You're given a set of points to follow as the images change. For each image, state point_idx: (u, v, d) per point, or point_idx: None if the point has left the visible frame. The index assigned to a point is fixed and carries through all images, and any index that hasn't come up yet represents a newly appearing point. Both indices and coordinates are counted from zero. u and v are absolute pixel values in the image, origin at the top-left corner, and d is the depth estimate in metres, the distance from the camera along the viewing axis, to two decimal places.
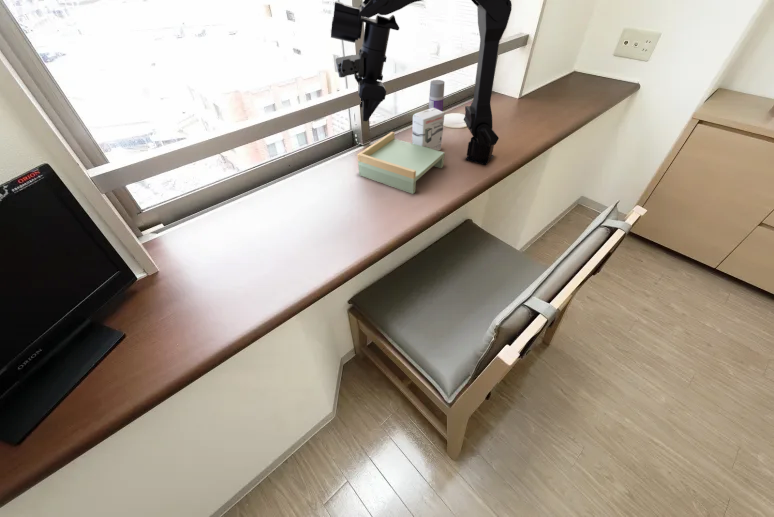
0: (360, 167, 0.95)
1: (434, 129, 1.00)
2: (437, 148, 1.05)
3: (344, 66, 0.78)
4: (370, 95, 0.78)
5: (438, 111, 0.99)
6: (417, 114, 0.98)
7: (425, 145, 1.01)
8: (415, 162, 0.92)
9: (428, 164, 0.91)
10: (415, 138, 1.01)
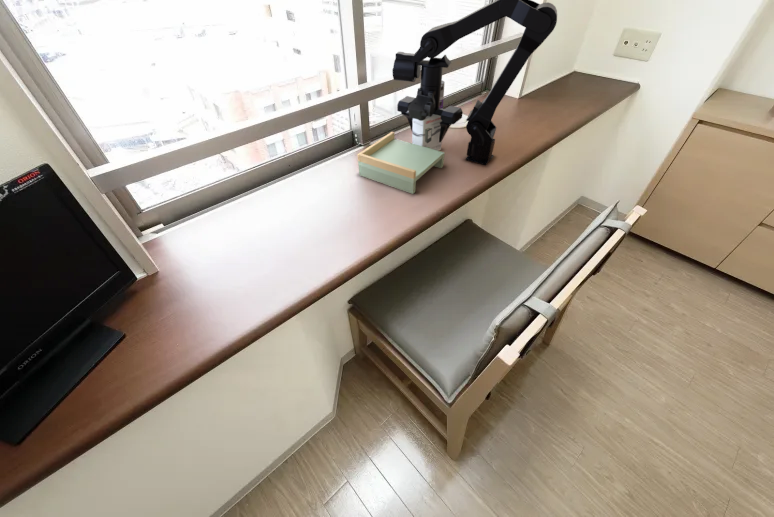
0: (360, 167, 0.95)
1: (434, 129, 1.00)
2: (437, 148, 1.05)
3: (431, 110, 0.90)
4: (457, 119, 0.94)
5: None
6: None
7: (425, 145, 1.01)
8: (415, 162, 0.92)
9: (428, 164, 0.91)
10: (415, 138, 1.01)
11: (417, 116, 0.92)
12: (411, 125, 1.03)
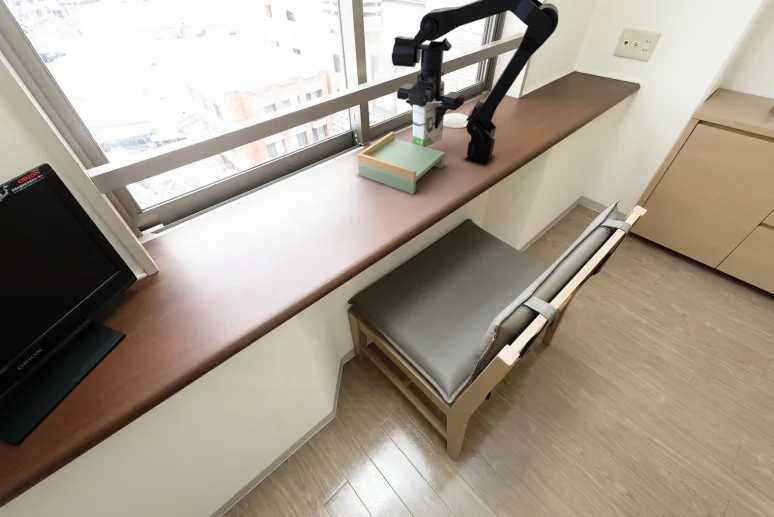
0: (360, 167, 0.95)
1: (435, 118, 0.98)
2: (438, 138, 1.03)
3: (432, 95, 0.87)
4: (458, 105, 0.91)
5: None
6: None
7: (426, 135, 0.99)
8: (415, 162, 0.92)
9: (428, 164, 0.91)
10: (416, 128, 0.99)
11: (417, 102, 0.90)
12: None
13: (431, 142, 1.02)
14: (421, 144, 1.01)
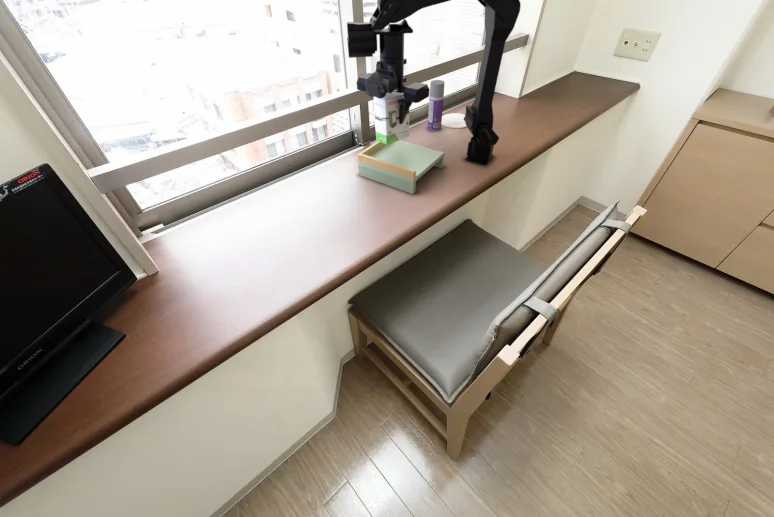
0: (360, 167, 0.95)
1: None
2: (404, 134, 0.93)
3: (390, 85, 0.77)
4: (422, 97, 0.81)
5: None
6: None
7: (390, 131, 0.89)
8: (415, 162, 0.92)
9: (428, 164, 0.91)
10: (378, 123, 0.89)
11: (375, 93, 0.80)
12: None
13: (396, 139, 0.92)
14: (384, 141, 0.91)
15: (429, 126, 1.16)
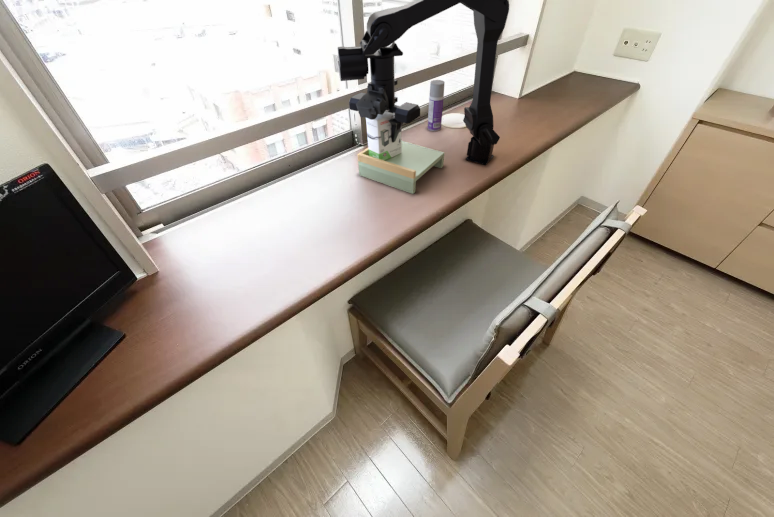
0: (360, 167, 0.95)
1: None
2: (397, 152, 0.95)
3: (381, 107, 0.79)
4: (413, 118, 0.83)
5: None
6: None
7: (382, 149, 0.90)
8: (415, 162, 0.92)
9: (428, 164, 0.91)
10: (371, 142, 0.90)
11: (367, 114, 0.81)
12: None
13: (389, 156, 0.93)
14: None
15: (429, 126, 1.16)
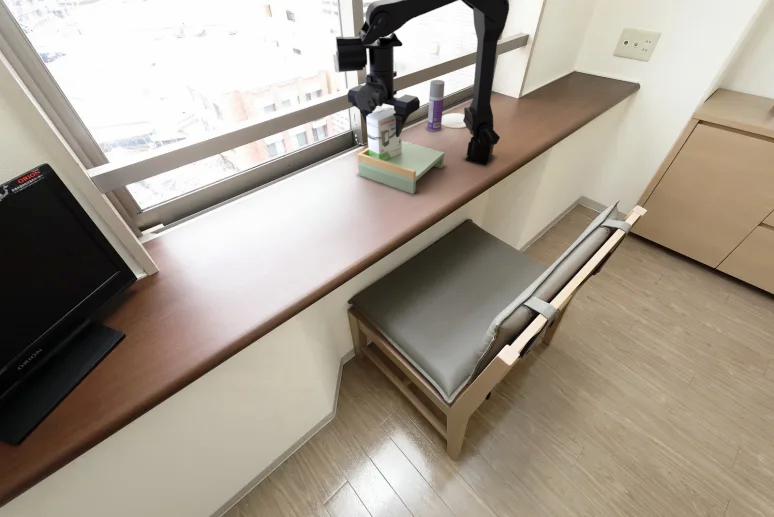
0: (360, 167, 0.95)
1: (391, 131, 0.89)
2: (397, 152, 0.95)
3: (380, 98, 0.77)
4: (413, 110, 0.81)
5: None
6: (371, 115, 0.87)
7: (382, 149, 0.90)
8: (415, 162, 0.92)
9: (428, 164, 0.91)
10: (371, 142, 0.90)
11: (365, 106, 0.79)
12: (365, 118, 0.90)
13: (389, 157, 0.93)
14: None
15: (429, 126, 1.16)
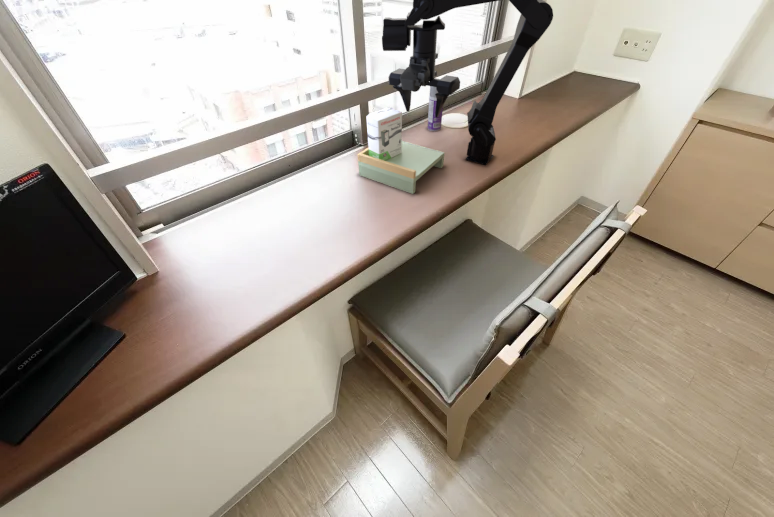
0: (360, 167, 0.95)
1: (391, 131, 0.89)
2: (397, 152, 0.95)
3: (425, 78, 0.82)
4: (454, 90, 0.86)
5: (395, 111, 0.88)
6: (371, 115, 0.87)
7: (382, 149, 0.90)
8: (415, 162, 0.92)
9: (428, 164, 0.91)
10: (371, 142, 0.90)
11: (410, 87, 0.84)
12: (404, 100, 0.94)
13: (389, 157, 0.93)
14: None
15: (429, 126, 1.16)
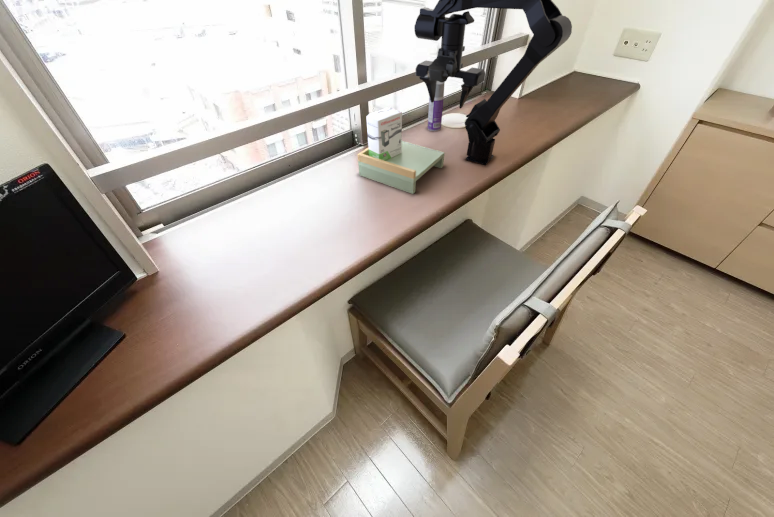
0: (360, 167, 0.95)
1: (391, 131, 0.89)
2: (397, 152, 0.95)
3: (453, 69, 0.85)
4: (480, 81, 0.89)
5: (395, 111, 0.88)
6: (371, 115, 0.87)
7: (382, 149, 0.90)
8: (415, 162, 0.92)
9: (428, 164, 0.91)
10: (371, 142, 0.90)
11: (438, 77, 0.88)
12: (429, 91, 0.98)
13: (389, 157, 0.93)
14: None
15: (429, 126, 1.16)
